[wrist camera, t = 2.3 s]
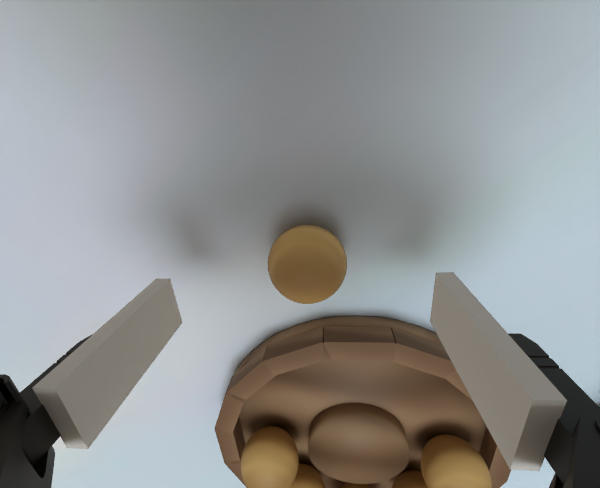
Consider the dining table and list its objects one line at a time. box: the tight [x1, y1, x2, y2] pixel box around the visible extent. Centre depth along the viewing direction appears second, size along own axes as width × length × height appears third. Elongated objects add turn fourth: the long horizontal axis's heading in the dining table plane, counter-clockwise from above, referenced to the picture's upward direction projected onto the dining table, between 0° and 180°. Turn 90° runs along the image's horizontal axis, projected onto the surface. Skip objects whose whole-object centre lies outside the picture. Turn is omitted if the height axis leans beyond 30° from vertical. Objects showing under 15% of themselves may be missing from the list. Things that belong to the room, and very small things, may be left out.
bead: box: [268, 225, 347, 304], centre depth 16 cm, size 5×5×5 cm
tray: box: [215, 316, 511, 488], centre depth 24 cm, size 23×23×3 cm
